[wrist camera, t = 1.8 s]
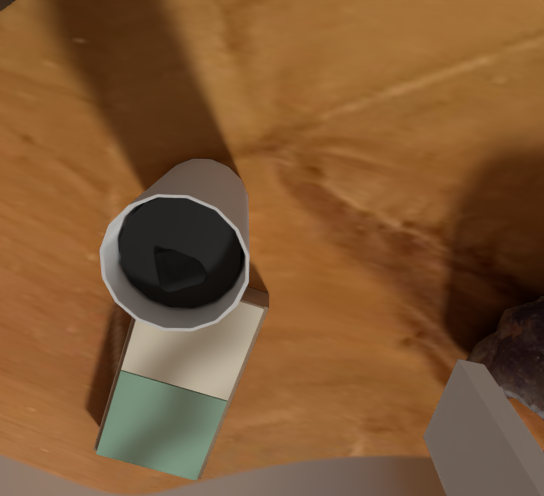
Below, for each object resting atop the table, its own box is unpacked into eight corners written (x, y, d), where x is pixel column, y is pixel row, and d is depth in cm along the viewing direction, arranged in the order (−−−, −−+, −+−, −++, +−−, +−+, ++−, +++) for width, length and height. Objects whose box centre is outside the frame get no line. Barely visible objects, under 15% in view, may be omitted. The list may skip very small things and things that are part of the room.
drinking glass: (264, 244, 33) (262, 321, 23) (163, 260, 33) (121, 341, 24) (245, 142, 30) (235, 181, 21) (137, 160, 31) (79, 206, 21)
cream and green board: (101, 430, 38) (91, 453, 36) (153, 256, 33) (145, 270, 31) (203, 458, 39) (199, 482, 37) (268, 293, 34) (268, 309, 32)
